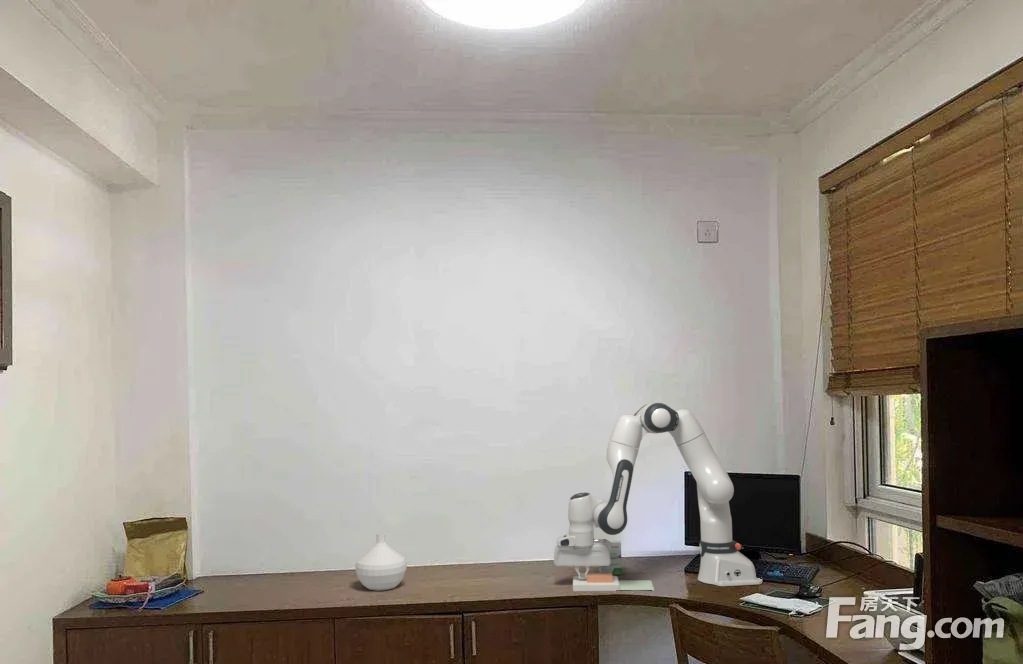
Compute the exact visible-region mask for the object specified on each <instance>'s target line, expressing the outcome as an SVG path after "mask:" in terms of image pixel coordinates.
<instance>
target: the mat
mask: <svg viewBox="0 0 1023 664" xmlns="http://www.w3.org/2000/svg"><path fill="white" fill-rule="evenodd" d="M618 582H619V590H652V591H653V592H655V587H654V585H653V583H652V580H648V579H645V580H644V579H643V580H642V579H641V580H640V579H639V580H628V579H627V580H626V579H625V580H618ZM652 591H651V592H652Z"/></svg>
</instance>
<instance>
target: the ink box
mask: <svg viewBox="0 0 1023 664" xmlns="http://www.w3.org/2000/svg"><path fill="white" fill-rule="evenodd" d="M608 541H609V542H610V543H611V550H610V552H609V553H610V560H611V564H610V565H609V566H598V573H612V576H618V575H619V576H621V575H623V563H622V562H623V560H622V559H623V558H622V542H621V541H620V540H611V541H610V540H608Z"/></svg>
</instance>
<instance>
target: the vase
mask: <svg viewBox="0 0 1023 664" xmlns="http://www.w3.org/2000/svg"><path fill="white" fill-rule="evenodd" d="M407 565H408V563H407V560H406V557H404V556H403V555H402V554H400V553H399V552H397V551H396V550H394V548H392V547H391V546H390V545H388V544H387V541H386V533H385V532H379V533H376V542H375V544H374V545H373V546H372V547H371V548H370V549H369V550H368V551H366V552H365V553H364V554H363V555H362V556H361V557H360V558H358V559H357V560H356V563H355V568H354V569H355V574H356V576H357V578H358V580H359V582H360V583H361V584H362V586H364V588H366V589H367V590H371V591H389V590H392V589H394V588H396V587H397V586H398V585H400V583H401V582H402V580H403V579H404V577H405V573H406V571H407V568H408V567H407Z"/></svg>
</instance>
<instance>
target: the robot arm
mask: <svg viewBox="0 0 1023 664" xmlns="http://www.w3.org/2000/svg"><path fill="white" fill-rule="evenodd" d="M649 433H650V434H663V433H664V434H665V433H669V434H670V435H671V437H672V438H673V440H674V442H675V444H676V447H677V448H678V450H679V452H680V454H681V457H682V459H683V460H684V462H685V465H686V466H687V468H688V470H689V472H690V473H691V475H692V476H693V478H694V480H695V481H696V492H697V501H698V503H697V504H698V510H699V517H700V518H699V520H700V540H699V555H700V564H699V571H698V576H697V580H698V581H699V582H700V583H701V582H702V583H704V584H709V585H715V586H718V587H733V586H737V587H738V586H750V585H752V586H753V585H761V584H762V583H763V578H762V579H760V578H757V577H756V574H757V573H756V568H755V565H754V564H753V561H751V559H749V558H748V557H747V556H745V555H744V554H743V553H741V552H740V550H741V549H742V545H741V544H740V543H738V542H737V541H735V540H733V522H732V521H733V519H732V514H731V509H730V508H731V507H730V501H731V499H732V498H733V496H734V492H735V490H734V489H735V488H734V484H733V482H732V480H731V477H730V476H729V474H728V472H727V470H726V468H725V467H724V465H723V463H722V462H721V460H720V459H719V457H718V455H717V454H716V452H715V450H714V448H713V446H712V445H711V442H710V440H709V438H708V437H707V434H706V433H705V431H704V429H703V426H702V425H701V424H700V422H699V421H698V419H697V418H696V416H695V414H694V413H693V412H692V411H691V410H689V409H686V408H680V409H677V410H674V409H673V408H671V407H670V406H669V405H668V404H665V403H662V402H650V403H648V404H644V405H643V406H641V407H640V408H639V409H638V410H637V411H636V412H635V413H634V414H623V415H620V416H619V417H618V418H617V420H616V422H615V425H614V426H613V428H612V431H611V434H610V437H609V441H608V444H607V447H606V448H607V449H606V461H607V463H608V465H609V467H610V469H611V471H612V472H611V473H612V484H611V488H610V493H609V497H608V500H604V499H600V498H598V497H596V496H594V495H592V494H591V493H589V492H579V493H575V494H573V495H572V496H571V497H570V498H569V502H568V513H567V515H568V517H567V518H568V519H567V520H568V522H569V528H568V533H567V534H564V535H561V536H558V537H557V539H556V545H555V548H554V553H553V565H554V566H555V567H558V568H559V567H560V568H561V567H563V568H564V567H574V569H575V571H576V573H577V574H578V575H577V576H579V579H587V573H589V571H590V567H599V566H609V565H610V564H611V560H610V553H609V552H610V550H611V543H610V542H609V541H610V540H607V539H606V538H603V539H602V538H601V539H599V538H595V533H594V530H595V528H599V529H601V531H602V532H603V533H605V534H607V535H611V536H615V535H619V534H621V533H622V532H623V531H624V530H625V529H626V527H627V525H628V513H627V506H628V501H629V499H628V498H629V495H630V494H629V493H630V490H631V489H630V488H631V486H632V481H633V480H632V479H633V474H634V468H635V465H636V461H637V458H638V454H639V450H640V445H641V441H642V440H643V438H644V437H645V435H646V434H649ZM580 567H585V571H584V572H580Z"/></svg>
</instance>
